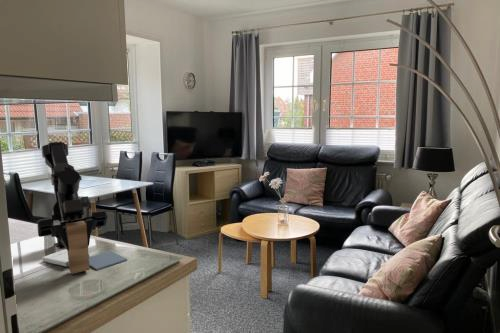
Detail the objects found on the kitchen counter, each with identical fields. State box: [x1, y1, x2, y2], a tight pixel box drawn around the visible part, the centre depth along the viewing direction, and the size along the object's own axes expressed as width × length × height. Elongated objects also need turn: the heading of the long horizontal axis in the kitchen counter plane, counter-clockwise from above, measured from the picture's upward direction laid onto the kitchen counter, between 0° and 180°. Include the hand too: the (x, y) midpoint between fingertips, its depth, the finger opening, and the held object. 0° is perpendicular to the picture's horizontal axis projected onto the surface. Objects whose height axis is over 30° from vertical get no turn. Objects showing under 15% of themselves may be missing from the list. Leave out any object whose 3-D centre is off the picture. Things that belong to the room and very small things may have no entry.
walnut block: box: [65, 221, 91, 275], centre depth 107 cm, size 4×5×14 cm
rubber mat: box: [89, 250, 128, 271], centre depth 117 cm, size 11×10×1 cm
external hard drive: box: [41, 249, 69, 268], centre depth 117 cm, size 2×8×12 cm
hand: (78, 247), depth 106 cm, fingers closed on walnut block, 5 cm apart
